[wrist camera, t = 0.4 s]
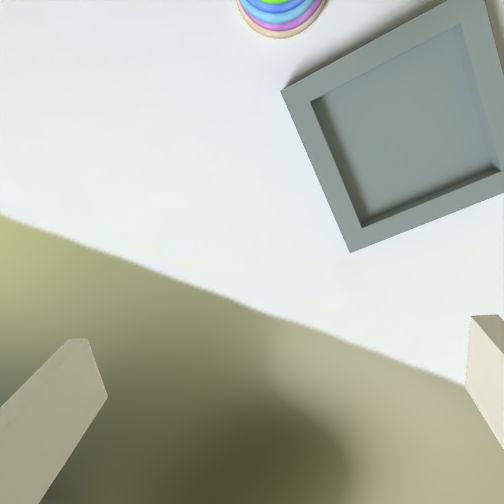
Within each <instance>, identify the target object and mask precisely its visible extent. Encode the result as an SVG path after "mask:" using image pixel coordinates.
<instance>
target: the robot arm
mask: <svg viewBox="0 0 504 504" xmlns="http://www.w3.org/2000/svg"><path fill="white" fill-rule="evenodd" d="M465 388H466V389H467V391H468V392H469V394H470V396H471V397H472V399H473V401H474V402H475V404H476V405H477V407H478V409H479V410H480V412H481V413H482V415H483V416H484V418H485V420H486V422H487V423H488V425H489V426H490V428H491V430H492V431H493V433H494V435H495V436H496V438H497V439H498V441H499V442H500V444H501V446H502V448H503V449H504V321H503V320H502V319H501V318H500V317H499V316H498V315H481V316H471V319H470V331H469V342H468V354H467V366H466V378H465ZM107 398H108V396H107V393H106V390H105V387H104V384H103V382H102V379H101V376H100V373H99V370H98V368H97V365H96V362H95V359H94V356H93V353H92V351H91V348H90V345H89V342H88V340H87V338H82V339H68V340H67V341H66V342H65V343H64V344H63V345H62V346H61V347H60V348H59V349H58V350H57V351H56V352H55V353H54V354H53V355H52V356H51V357H50V358H49V359H48V360H47V361H46V362H45V363H44V364H43V365H42V366H41V367H40V368H39V369H38V370H37V371H36V372H35V373H34V374H33V375H32V377H30V378H29V379H28V381H27V382H25V383H24V384H23V385H22V386H21V388H19V390H18V391H17V392H16V393H15V394H14V395H13V396H12V397H11V398H10V399H9V400H8V401H7V402H6V403H5V404H4V405H3V406H2V407H1V408H0V504H38V503H39V502H40V500H41V499H42V497H43V496H44V494H45V493H46V491H47V490H48V488H49V486H50V485H51V483H52V482H53V480H54V479H55V477H56V476H57V474H58V473H59V471H60V470H61V468H62V467H63V465H64V463H65V462H66V460H67V459H68V457H69V456H70V454H71V453H72V451H73V450H74V448H75V447H76V445H77V444H78V442H79V440H80V439H81V437H82V436H83V434H84V433H85V431H86V430H87V428H88V427H89V425H90V424H91V422H92V420H93V419H94V418H95V416H96V415H97V413H98V411H99V410H100V408H101V407H102V405H103V404H104V402H105V401H106V399H107Z"/></svg>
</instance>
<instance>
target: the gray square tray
mask: <svg viewBox="0 0 504 504" xmlns="http://www.w3.org/2000/svg"><path fill="white" fill-rule="evenodd" d="M280 92H281V94H282V96H283V99H284V101H285V103H286V105H287V108H288V110H289V112H290V115H291V117H292V119H293V122H294V124H295V126H296V129H297V131H298V133H299V136H300V138H301V140H302V143H303V145H304V147H305V150H306V152H307V154H308V157H309V159H310V161H311V163H312V166H313V168H314V170H315V173H316V175H317V177H318V180H319V182H320V184H321V187H322V189H323V191H324V194H325V196H326V198H327V201H328V203H329V205H330V208H331V210H332V212H333V215H334V217H335V219H336V222H337V224H338V226H339V228H340V231H341V233H342V235H343V238H344V240H345V242H346V245H347V247H348V249H349V252H350V253H352V252H354V251H357V250H359V249H362V248H364V247H367V246H370V245H372V244H375V243H377V242H380V241H382V240H385V239H387V238H390V237H392V236H395V235H397V234H400V233H403V232H405V231H408V230H410V229H413V228H415V227H418V226H420V225H423V224H425V223H428V222H430V221H433V220H436V219H438V218H441V217H443V216H446V215H448V214H451V213H453V212H456V211H458V210H461V209H463V208H466V207H469V206H471V205H474V204H476V203H479V202H481V201H484V200H486V199H489V198H491V197H494V196H496V195H499V194H502V193H504V75H503V71H502V67H501V63H500V59H499V55H498V51H497V48H496V44H495V40H494V36H493V32H492V28H491V24H490V20H489V16H488V12H487V9H486V5H485V1H484V0H447V1H445V2H443V3H441V4H439V5H438V6H436V7H434V8H432V9H430V10H428V11H427V12H425V13H423V14H421V15H419V16H417V17H415V18H414V19H412V20H410V21H408V22H406V23H404V24H403V25H401V26H399V27H397V28H395V29H393V30H392V31H390V32H388V33H386V34H384V35H382V36H380V37H379V38H377V39H375V40H373V41H371V42H369V43H368V44H366V45H364V46H362V47H360V48H358V49H357V50H355V51H353V52H351V53H349V54H347V55H345V56H344V57H342V58H340V59H338V60H336V61H334V62H333V63H331V64H329V65H327V66H325V67H323V68H322V69H320V70H318V71H316V72H314V73H312V74H310V75H309V76H307V77H305V78H303V79H301V80H299V81H298V82H296V83H294V84H292V85H290V86H288V87H287V88H285V89H283V90H281V91H280Z"/></svg>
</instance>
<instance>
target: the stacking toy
mask: <svg viewBox="0 0 504 504" xmlns="http://www.w3.org/2000/svg"><path fill="white" fill-rule="evenodd" d="M325 1H326V0H236V2H237V5H238V8H239V11H240V13H241V15H242V17H243V18H244V20H245V21H246V22H247V24H248V25H249V26H250V27H251V28H252V29H253V30H255V31H256V32H257V33H259V34H261V35H263V36H266V37H269V38H274V39H284V38H289V37H293V36H295V35H297V34H299V33H301V32H302V31H304V30H305V29H307V28H308V27H309V26H310V25H311V24H312V23H313V22H314V21H315V19H316V18H317V17H318V15H319V14H320V12H321V10H322V8H323V6H324V3H325Z"/></svg>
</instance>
